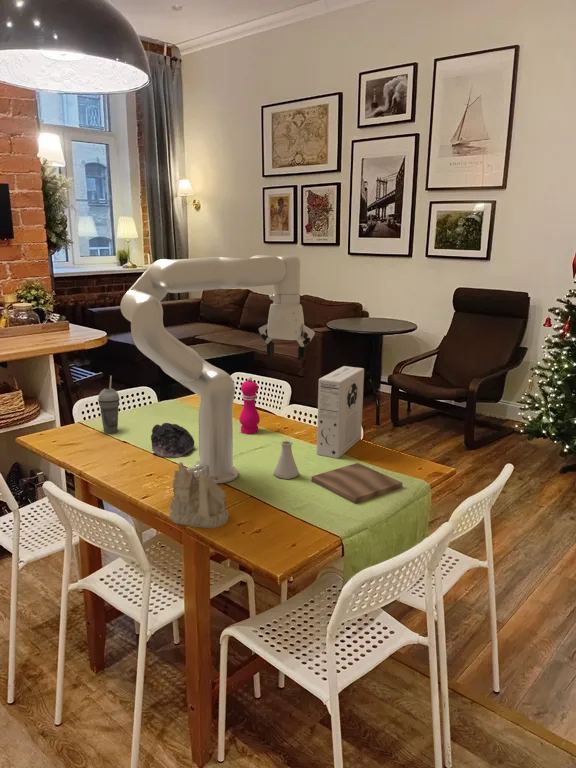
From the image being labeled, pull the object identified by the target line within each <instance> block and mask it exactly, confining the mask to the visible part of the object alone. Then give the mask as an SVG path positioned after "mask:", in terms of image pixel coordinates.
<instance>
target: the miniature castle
mask: <svg viewBox="0 0 576 768" xmlns="http://www.w3.org/2000/svg"><path fill="white" fill-rule="evenodd" d="M187 468H188V467H187V466H184V463H183V462H182V461H180V462H179V463H178V470H176V469H175V470H174V477H173V481H172V488H173V490H172V492H173V496H172V498H171V503H170V507H169V508H170V510H169V516H168V517H169V519H170V520H171V521H172V522H173V523H175V524H178V525H181V526H191V527H197V528H202V529H203V528H204V529H215V528H218V527H219V528H220V527H222V526H223V525H225V524H226V523H227V522H228V520H229V516H230V513H229V511H228V510H227V509H226V500H225V498H226V496H227V495H226V493H225V491H224V490H223V489H222V488H221V487H220V486H219V485H218V484H216V483H215V481H214V480H213V478H212V477H211V475H209V477H208V478H207V475H206V474H203V473H199V474H198V475H197V476H195V475H194V473H193V470H192V469H189V470H188V471H187Z"/></svg>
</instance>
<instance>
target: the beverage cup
mask: <svg viewBox="0 0 576 768" xmlns="http://www.w3.org/2000/svg"><path fill="white" fill-rule="evenodd" d="M109 376H110V377H109V387H106V388H103V389H102V390H100V392H99V394H98V398H97V401H98V405H99V408H100V414H101V421H102V427H103V431H104V433H105V434H114V433H116V432H118V425H119V405H120V396H119V393H118V391H117V390H116V389H114V388H112V380H113V379H112V377H113V376H112V375H109Z"/></svg>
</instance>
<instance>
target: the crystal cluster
mask: <svg viewBox="0 0 576 768" xmlns="http://www.w3.org/2000/svg"><path fill="white" fill-rule="evenodd" d="M150 441H151V449H152V451H153V453H155V455H156V456H159V457H167V458H180V457H183V456H184V455H185V454H187V453H189V452H190V451H192V450H193V449H195V440H194V438H193V435H192V434H191V433H190V432H189V430H188V429H186V428H185V427H183V426H180V425H179V424H176V423H170V422H163V423H162V424H161V425H160V424H155V425H154V426H153V427H152V429H151V434H150Z"/></svg>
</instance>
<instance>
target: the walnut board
mask: <svg viewBox="0 0 576 768" xmlns="http://www.w3.org/2000/svg"><path fill="white" fill-rule="evenodd" d="M311 482H312V483H315V484H316V485H318V486H320V487H322V488H324V489H326V490H328V491H330V492H331V493H333V494H335V495H337V496H339V497H341V498H343V499H345V500H347V501H349V502H351V503H353V504H355V505H356V504H359V503H361V502H365V501H367V500H371V499H374V498H377V497H379V496H381V495H384V494H388V493H390V492H393V491H396V490H399V489H402V488H403V481H400V480H398V479H396V478H393V477H391V476H389V475H387V474H384V473H382V472H380V471H377V470H375V469H373V468H370V467H369V466H365V465H364V464H361V463H360V462H356V463H352V464H349V465H345V466H342V467H338V468H334V469H332V470H328V471H325V472H321V473H318V474H315V475H312V476H311Z"/></svg>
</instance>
